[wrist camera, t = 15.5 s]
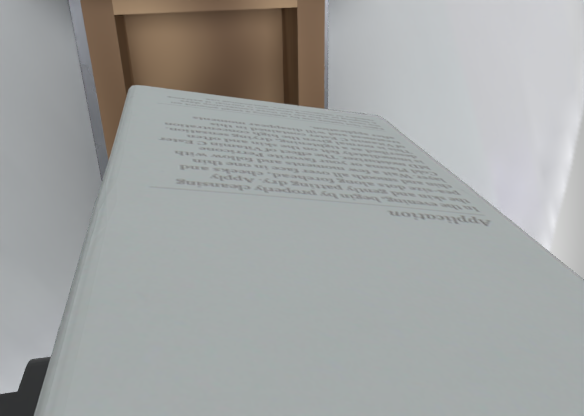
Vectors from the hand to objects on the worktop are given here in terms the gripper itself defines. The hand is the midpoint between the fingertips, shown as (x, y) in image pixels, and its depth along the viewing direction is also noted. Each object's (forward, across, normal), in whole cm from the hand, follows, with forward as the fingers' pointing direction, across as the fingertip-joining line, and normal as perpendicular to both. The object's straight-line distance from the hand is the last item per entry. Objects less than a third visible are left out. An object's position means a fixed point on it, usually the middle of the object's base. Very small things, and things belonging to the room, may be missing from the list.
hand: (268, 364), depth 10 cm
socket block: (+21, 0, 0) cm, 21 cm away
